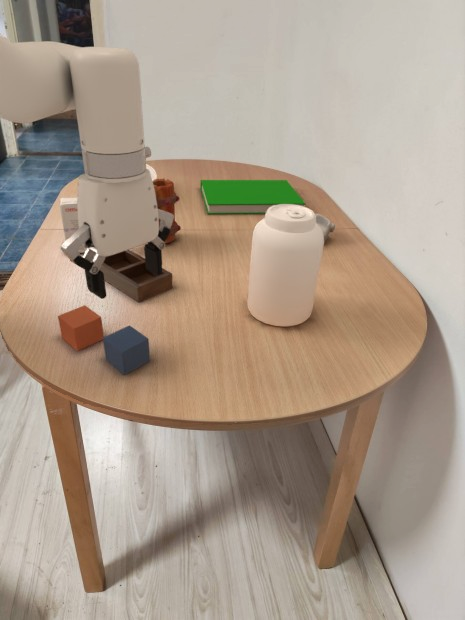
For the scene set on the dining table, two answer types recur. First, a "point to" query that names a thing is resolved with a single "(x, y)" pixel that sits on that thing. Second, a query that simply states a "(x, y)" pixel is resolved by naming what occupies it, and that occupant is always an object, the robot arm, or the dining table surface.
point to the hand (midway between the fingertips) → (127, 282)
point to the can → (284, 265)
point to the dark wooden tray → (134, 276)
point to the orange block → (81, 327)
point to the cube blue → (126, 349)
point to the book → (247, 195)
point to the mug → (167, 203)
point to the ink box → (70, 218)
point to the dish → (324, 225)
